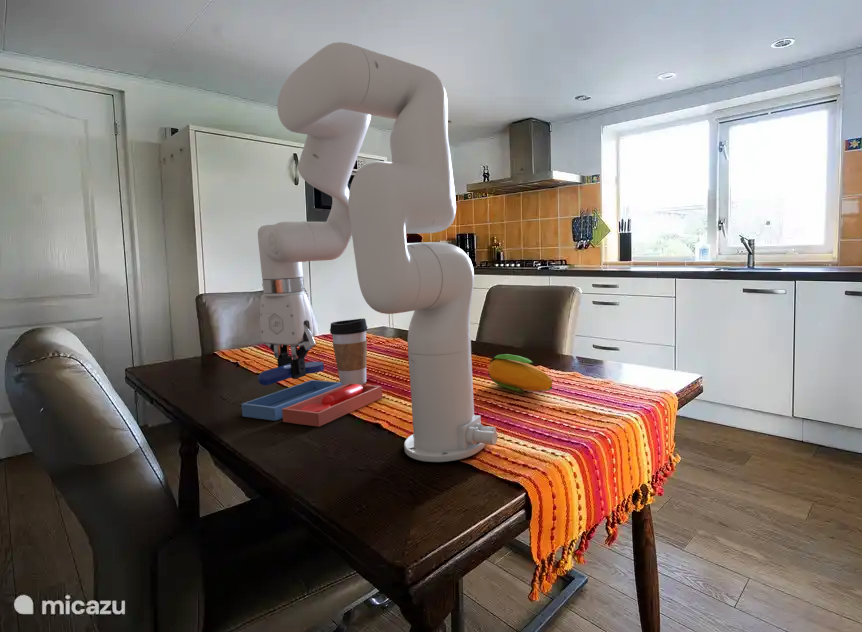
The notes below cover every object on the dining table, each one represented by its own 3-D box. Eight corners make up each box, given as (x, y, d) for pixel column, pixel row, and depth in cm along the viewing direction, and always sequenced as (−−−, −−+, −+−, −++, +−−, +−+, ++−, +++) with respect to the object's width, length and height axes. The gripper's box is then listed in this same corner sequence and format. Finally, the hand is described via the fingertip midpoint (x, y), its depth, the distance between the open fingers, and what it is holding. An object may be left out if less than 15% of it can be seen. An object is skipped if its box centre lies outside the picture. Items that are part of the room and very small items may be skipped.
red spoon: (351, 394, 109) (350, 381, 109) (371, 396, 107) (370, 383, 107) (295, 417, 95) (294, 402, 95) (316, 420, 93) (315, 405, 93)
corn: (504, 346, 117) (565, 359, 102) (507, 377, 119) (568, 395, 103) (478, 353, 113) (537, 368, 97) (481, 386, 114) (540, 405, 99)
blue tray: (343, 393, 111) (342, 382, 111) (275, 420, 95) (274, 408, 95) (312, 390, 115) (311, 379, 115) (242, 416, 98) (241, 403, 98)
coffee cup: (365, 387, 116) (360, 322, 114) (329, 388, 116) (323, 323, 114) (376, 377, 124) (371, 316, 122) (341, 378, 124) (336, 318, 122)
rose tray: (382, 397, 107) (381, 386, 107) (319, 426, 91) (317, 413, 90) (350, 394, 111) (349, 383, 110) (283, 421, 94) (281, 408, 94)
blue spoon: (270, 388, 96) (269, 373, 96) (250, 386, 98) (249, 371, 98) (329, 368, 110) (328, 356, 110) (310, 367, 112) (309, 354, 112)
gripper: (238, 288, 101) (248, 378, 104) (300, 289, 95) (309, 384, 98) (269, 285, 108) (278, 369, 111) (329, 285, 102) (336, 375, 104)
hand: (292, 375), depth 104 cm, fingers closed on blue spoon, 2 cm apart
